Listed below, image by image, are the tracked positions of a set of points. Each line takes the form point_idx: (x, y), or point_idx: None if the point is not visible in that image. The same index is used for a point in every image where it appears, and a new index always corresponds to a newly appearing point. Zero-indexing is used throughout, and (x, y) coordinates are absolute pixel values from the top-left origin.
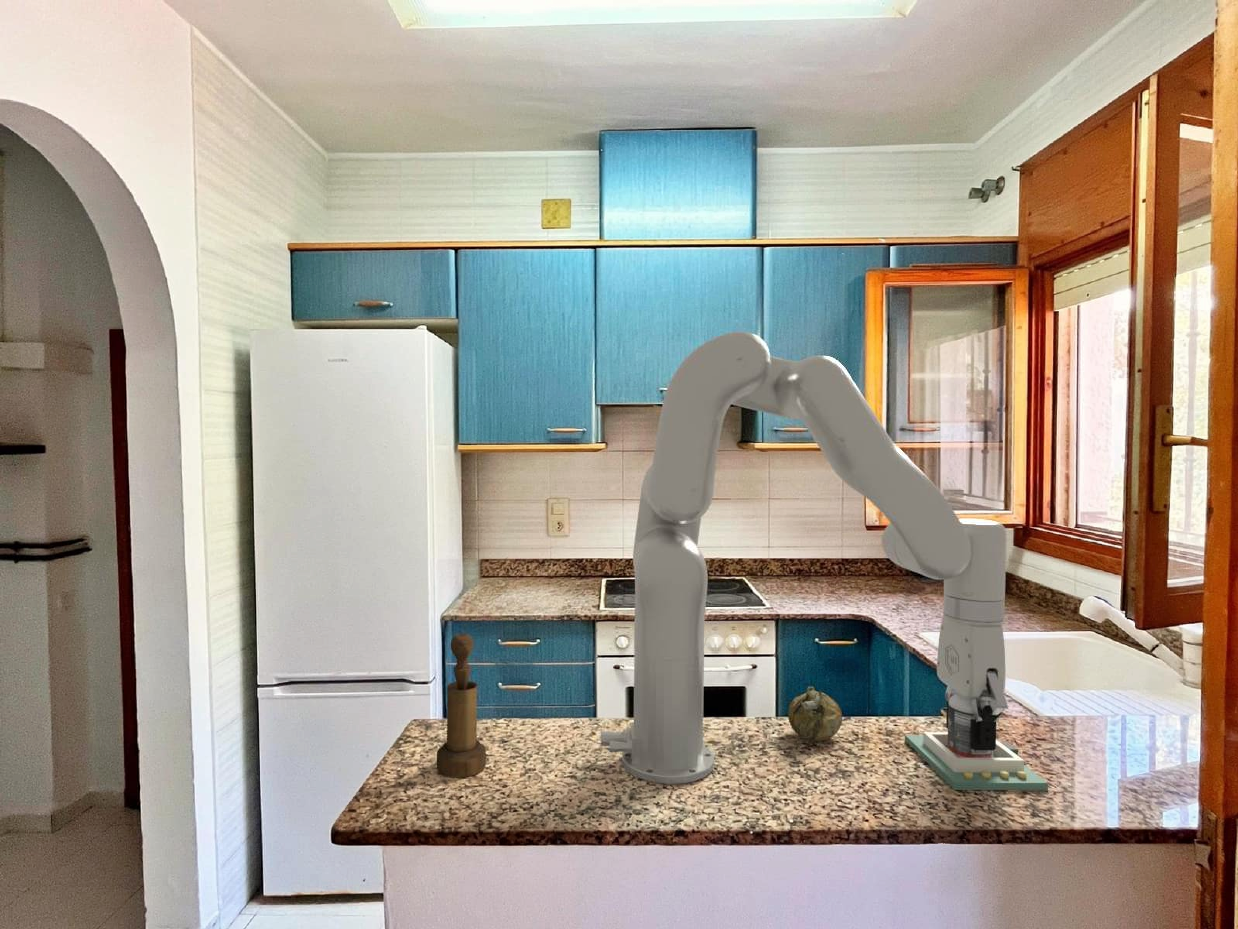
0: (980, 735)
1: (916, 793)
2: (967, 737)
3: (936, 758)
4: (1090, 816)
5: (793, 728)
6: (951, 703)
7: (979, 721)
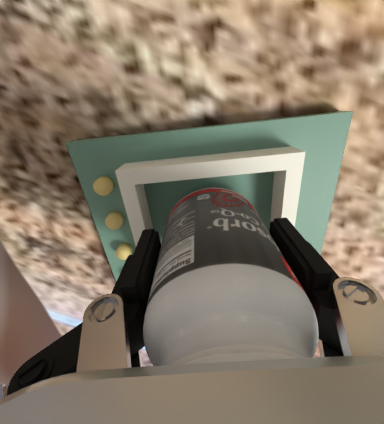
0: (125, 270)
1: (23, 25)
2: (165, 238)
3: (196, 147)
4: (61, 302)
5: None
6: (224, 277)
7: (98, 303)
